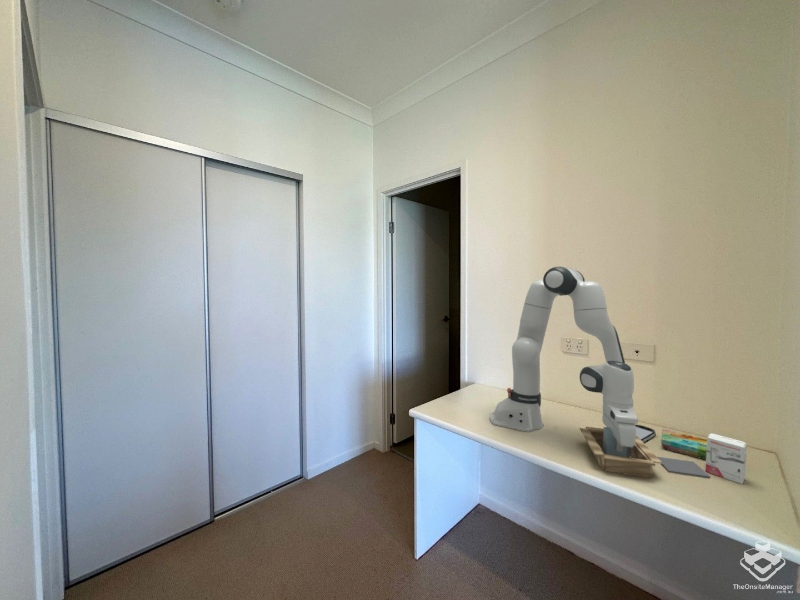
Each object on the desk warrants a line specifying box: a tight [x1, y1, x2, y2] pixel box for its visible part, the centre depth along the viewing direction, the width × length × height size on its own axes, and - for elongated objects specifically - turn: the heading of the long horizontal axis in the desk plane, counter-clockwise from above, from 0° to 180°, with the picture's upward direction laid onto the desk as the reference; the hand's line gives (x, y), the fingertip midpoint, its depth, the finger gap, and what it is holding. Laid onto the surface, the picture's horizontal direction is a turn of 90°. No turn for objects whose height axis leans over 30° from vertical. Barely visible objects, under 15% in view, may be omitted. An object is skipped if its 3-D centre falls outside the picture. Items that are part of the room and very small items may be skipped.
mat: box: [656, 456, 711, 479], centre depth 106 cm, size 11×9×1 cm
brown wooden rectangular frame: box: [579, 426, 662, 479], centre depth 112 cm, size 24×19×6 cm
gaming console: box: [635, 424, 657, 444], centre depth 129 cm, size 19×9×2 cm, turn 122°
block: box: [602, 426, 631, 458], centre depth 112 cm, size 7×4×10 cm, turn 73°
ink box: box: [705, 433, 747, 484], centre depth 102 cm, size 9×5×12 cm, turn 38°
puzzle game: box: [661, 429, 707, 460], centre depth 116 cm, size 12×5×20 cm
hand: (616, 447), depth 112 cm, fingers closed on block, 4 cm apart
